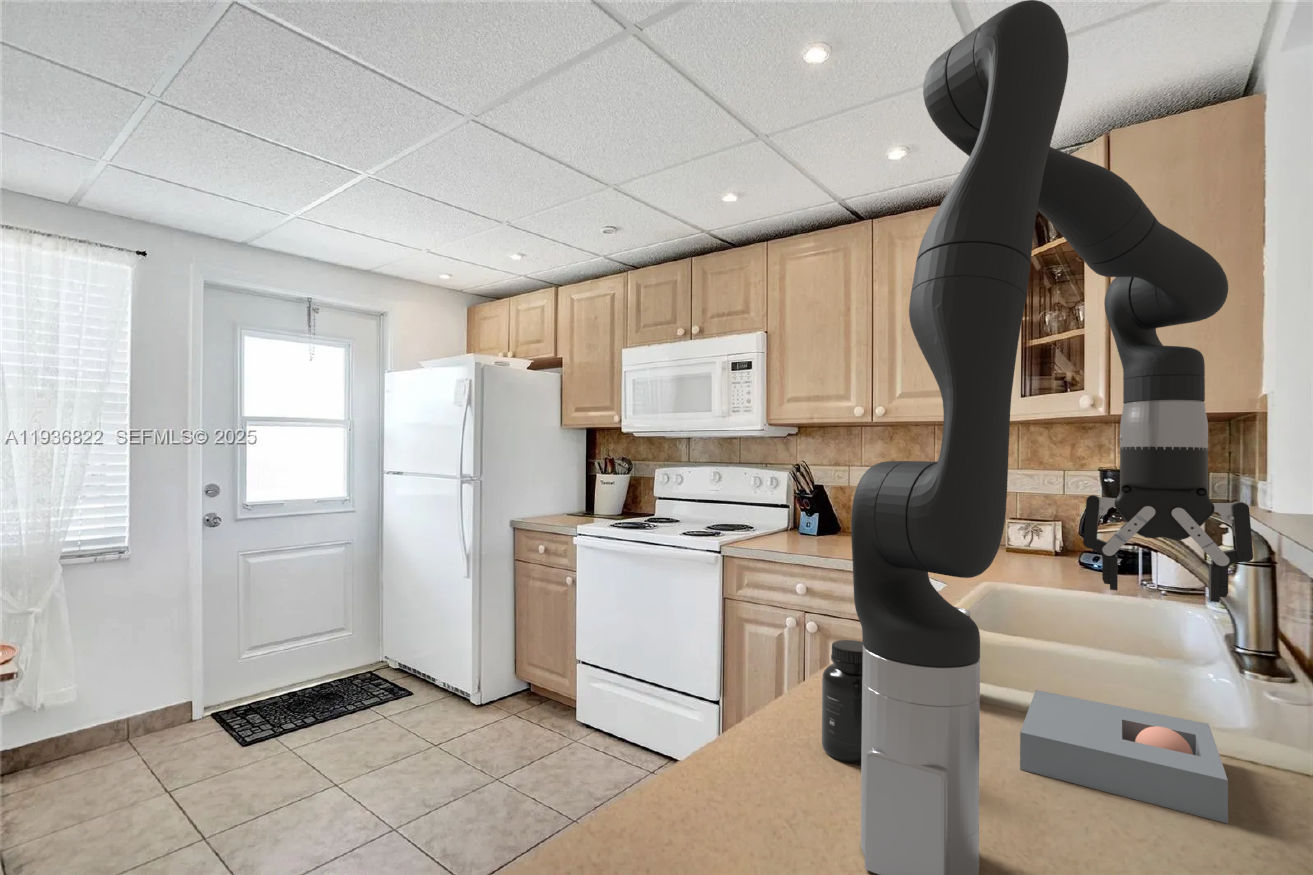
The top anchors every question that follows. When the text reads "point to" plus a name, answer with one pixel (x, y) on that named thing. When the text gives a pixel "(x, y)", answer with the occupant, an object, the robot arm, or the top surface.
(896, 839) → the robot arm
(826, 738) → the supplement bottle
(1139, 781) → the grey block with recess
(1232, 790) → the top surface
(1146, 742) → the ball
